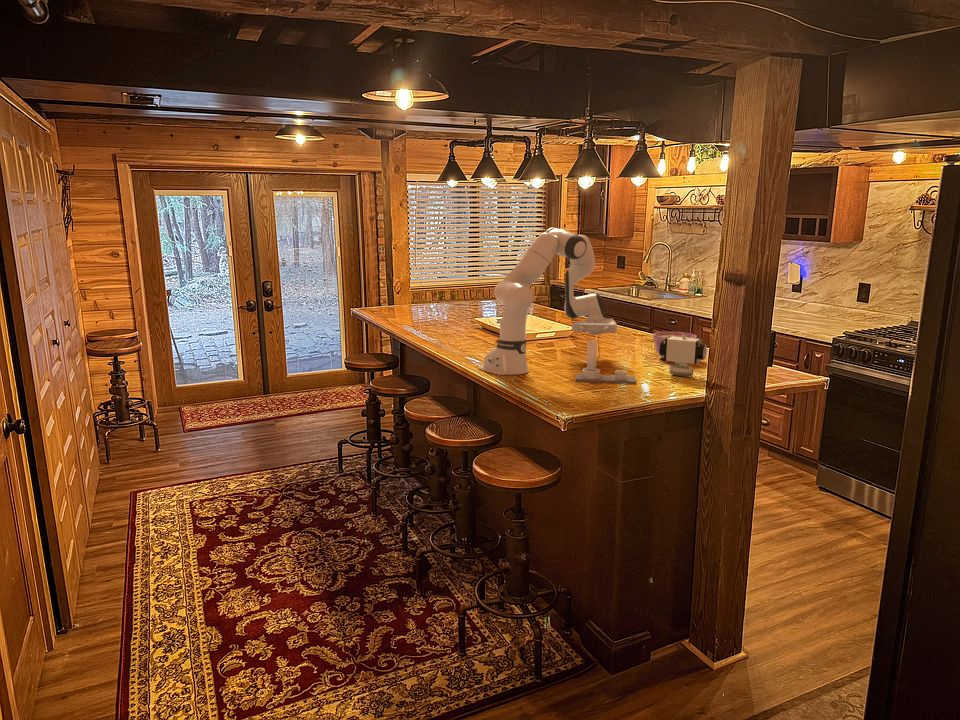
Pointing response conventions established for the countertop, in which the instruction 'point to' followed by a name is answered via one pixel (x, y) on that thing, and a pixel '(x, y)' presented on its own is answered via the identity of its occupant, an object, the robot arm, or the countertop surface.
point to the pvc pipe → (591, 354)
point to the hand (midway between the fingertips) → (593, 330)
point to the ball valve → (682, 353)
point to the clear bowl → (662, 335)
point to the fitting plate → (604, 376)
